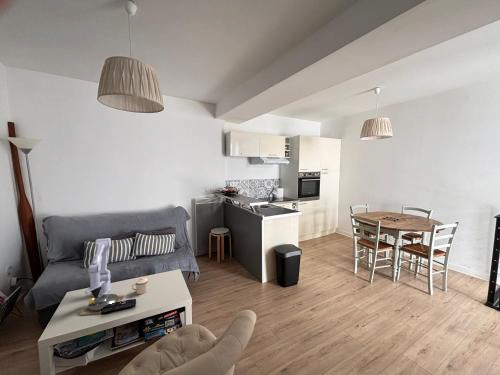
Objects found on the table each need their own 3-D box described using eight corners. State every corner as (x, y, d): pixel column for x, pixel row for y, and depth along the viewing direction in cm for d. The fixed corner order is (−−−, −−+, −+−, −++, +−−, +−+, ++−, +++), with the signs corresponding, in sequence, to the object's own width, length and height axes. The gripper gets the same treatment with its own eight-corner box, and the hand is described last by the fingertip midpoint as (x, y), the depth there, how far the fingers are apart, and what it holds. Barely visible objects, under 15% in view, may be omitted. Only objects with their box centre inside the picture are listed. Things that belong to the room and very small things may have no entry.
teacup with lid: (148, 287, 176) (148, 274, 175) (148, 292, 168) (147, 279, 167) (132, 290, 171) (132, 277, 171) (131, 296, 163) (130, 282, 162)
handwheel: (98, 297, 160) (97, 289, 160) (122, 295, 162) (122, 287, 162) (82, 312, 142) (81, 303, 142) (110, 310, 144) (109, 301, 144)
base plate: (97, 298, 161) (97, 296, 161) (124, 296, 163) (124, 294, 163) (79, 315, 141) (79, 314, 141) (110, 313, 144) (110, 311, 144)
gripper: (99, 275, 160) (100, 291, 161) (81, 284, 146) (82, 303, 147) (107, 275, 159) (107, 292, 160) (89, 285, 145) (90, 304, 146)
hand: (96, 297), depth 153 cm, fingers closed
